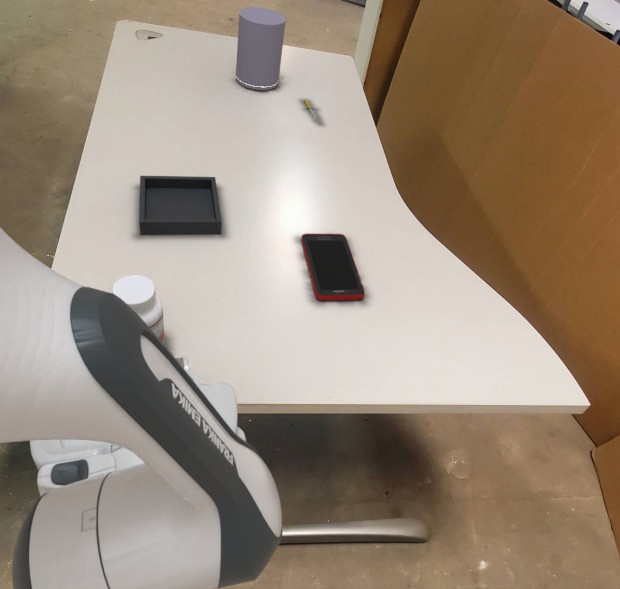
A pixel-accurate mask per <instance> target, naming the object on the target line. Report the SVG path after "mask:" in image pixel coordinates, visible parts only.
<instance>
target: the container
mask: <svg viewBox="0 0 620 589" xmlns="http://www.w3.org/2000/svg"><path fill="white" fill-rule="evenodd" d="M286 20H287V18H286V17H285V16H284V15H283V13H280V12H279V11H277V10H273V9H270V8H265V7H259V6H258V7H257V6H255V7H254V6H252V7H249V6H248V7H244V8H241V9H240V10H239V15H238V29H237V30H238V31H237V48H236V65H235V80H236V82H237V83H238V84H239V85H240V86H242V87H243V88H245V89H248V90H251V91H257V92H259V91H260V92H266V91H272V90H273V89H275V88H277V87H278V86H279V81H278V80H279V79H280V71H281V63H282V55H283V48H284V47H283V46H284V38H285V37H284V36H285V29H286V22H287V21H286ZM236 76H237V78H239V80H241V81H242V82H244V83H247V84H250V85H254V86H264V87H265V86H272V85H274V84H276V83H277V82H278V83H277V84H276V85H275V86H272V87H266V88H261V87H253V86H249V85H246V84H244V83H242V82H240V81H239V80H238V79H237V78H236Z"/></svg>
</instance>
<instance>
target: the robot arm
mask: <svg viewBox="0 0 620 589" xmlns="http://www.w3.org/2000/svg"><path fill="white" fill-rule="evenodd" d="M201 380H202V379H201V377H200V376H199V375H198V374H197V373H196V372H195V371H194V370H193V369H192V368H191V367H190V365H189V357H188V356H184V357H183V356H182V357H175V356H174V354H173V353H172V352H171V350H170V349H169V348H168V347H167V346H166V345H164V344H163V342H162V341H161V340H160V339H159V338H158V337H157V335H156V334H155V333H154V332H153V331H152V330H151V329H150V327H149V326H148V325H147V324H146V323H145V322H144V321H143V320H142V319H141V318H140V316H139V315H138V314H137V313H136V312H135V311H134V310H133V309H132V308H130V307H129V306H128V305H127V304H126V303H125V302H124V301H123V300H122V299H120V298H119V297H118V296H116V295H114V294H112V292H108V291H106V290H105V291H104V290H101V289H98V288H94V287H90V286H84V285H82V284H80V283H77V282H76V281H74V280H71V279H70V278H67V277H66V276H64V275H62V274H60V273H59V272H57V271H55V270H54V269H53V268H50V267H49V266H47V265H46V264H44V262H42V261H40V260H39V259H37V258H36V257H35V256H33V255H32V254H30V253H29V252H28V251H27V250H25V249H24V248H23V247H22V246H21V245H19V244H18V243H17V242H16V241H15V240H14V239H13V238H12V237H11V236H9V235H8V234H7V232H6V231H5V230H4V229H3V228H2V227H1V226H0V444H5V443H18V442H29V447H30V454H31V457H32V460H33V462H34V465H35V467H36V469H37V471H38V472H37V478H36V483H37V490H38V493H39V496H40V497H39V498H38V499H37V500H36V501H35V503H34V504H33V505H32V507H31V508H30V509H29V511H28V513H27V514H26V516H25V517H24V520H23V522H22V523H21V527H20V528H19V531H18V534H17V536H16V540H15V544H14V548H13V554H12V555H13V556H12V565H11V568H12V569H11V576H12V577H11V579H12V588H13V589H215V588H217V589H221V588H227V587H231V586H232V587H233V586H236V585H240V584H245V583H250V582H254V581H257V579H258V578H259V577H260V575H261V574H262V573H263V571H264V570H265V569H266V567H267V565H268V564H269V563H270V561H271V560H272V557H273V556H274V555H275V552H276V551H277V549H278V547H279V545H280V543H281V541H282V538H283V511H282V504H281V498H280V494H279V491H278V487H277V485H276V484H277V483H276V481H275V479H274V476H273V474H272V472H271V471H270V469H269V467H268V466H267V464H266V462H264V460H263V458H262V456H261V455H260V453H259V452H258V451H257V449H256V448H255V447H253V445H251V444H250V443H249V442H247V438H246V434H245V432H244V431H243V430H242V429H241V428H240V427H239V426H238V414H239V413H238V412H239V411H238V399H237V391H236V389H235V387H234V386H232V385H231V384H229V383H228V382H217V383H209V384H202V381H201Z"/></svg>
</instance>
